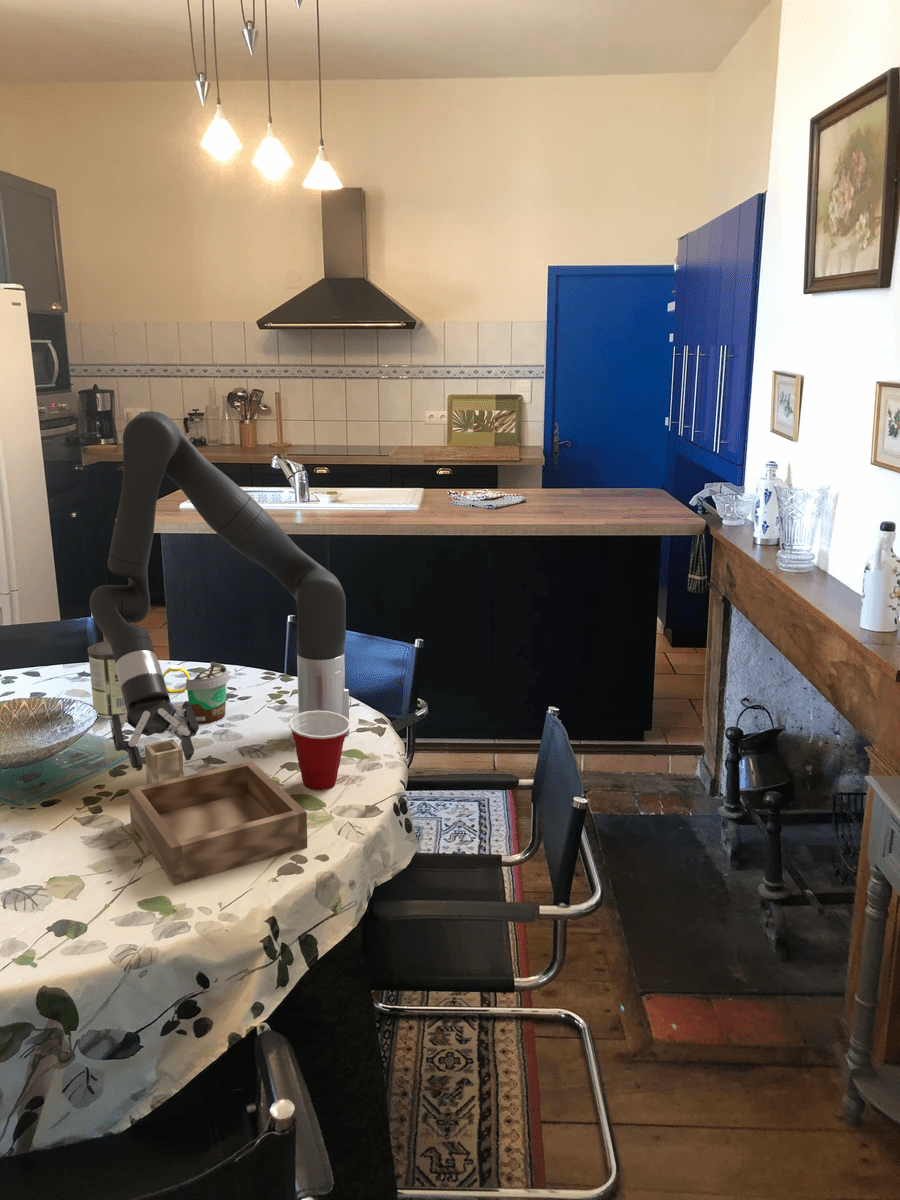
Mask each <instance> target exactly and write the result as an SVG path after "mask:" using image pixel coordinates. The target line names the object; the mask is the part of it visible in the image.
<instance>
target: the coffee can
mask: <svg viewBox="0 0 900 1200" xmlns="http://www.w3.org/2000/svg"><path fill="white" fill-rule="evenodd" d="M87 653H88V661H89V663H88V664H89V672H90V683H91V692H92V693H91V694H92V695H91V696H92V706H93V708H94V707H95V708H96V710H97V712H98V715H99V717H98V718H99V719H109V720H111V718H112V715H113V714H118V715H119V716H122V715H127V710H126V706H125V702H124V699H123V695H122V691H121V688H120V686H119V680H118V676H117V667H116V663H115V660H114V656H113V652H112V648H111V646H110V644H109V642H108V641H107V640H105V641H101V642H96V643H95V644H92V645H90V646H89V647H88V648H87Z"/></svg>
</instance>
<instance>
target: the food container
mask: <svg viewBox="0 0 900 1200" xmlns="http://www.w3.org/2000/svg"><path fill="white" fill-rule="evenodd" d="M230 679H231V678H230V674H229V670H228V669H227V667H226V666H225V665H224V664H221V663H218V662H212V661H211V662H210V667H208V668H207V669H206V670H204V671H201V672H199V673H198V674H197V675H196V676H195V677H194V678H193V679H190V680H189V679H187V678H186V681H185V686H186V690H185V691H187V701H189V702H190V704H191V707H192V710H193V712H194V715H195V718H196V720H197V723H198V725H206V723H207V724H211V723H212V722H213V723H216V722H219V721H221V720H223V719H224V718H225V717H224V716H226V704H227V703H226V702H227V683H228V682H229V681H230ZM223 717H224V718H223ZM222 718H223V719H222ZM220 719H221V720H220ZM218 720H219V721H218ZM215 721H216V722H215Z"/></svg>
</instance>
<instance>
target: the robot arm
mask: <svg viewBox="0 0 900 1200" xmlns="http://www.w3.org/2000/svg"><path fill="white" fill-rule="evenodd" d="M122 443H123V444H122V457H123V458H122V460H123V461H122V463H123V465H122V482H121V492H120V498H119V503H118V509H117V513H116V518H115V522H114V526H113V531H112V537H111V542H110V547H109V553H108V558H107V567H108V569H109V571H110V572H111V573H113V574H114V575H117V576H120V577H123V578H127V579H128V584H127V585H124V584H123V585H122V584H121V585H120V584H119V585H117V584H116V585H114V584H104V585H100V586H97V587H96V588H95V589H94V590H92V592H91V595H90V597H89V610H90V614H91V616H92V618H93V621H94V622H95V624H96V625H97V627H98V628H99V630H100V631H101V634H103V636H104V638H105V639H106V641H108V642H109V644H110V646H111V648H112V652H113V656H114V660H115V663H116V667H117V676H118V680H119V686H120V688H121V691H122V695H123V699H124V702H125V706H126V710H127V715H122V716H119V715H118V714H113V715H112V718H111V719H110V723H109V726H110V728H111V729H110V730H111V736H112V740H113V746H114V750H115V751H116V752H120V751H121V752H122V751H125V752H126V753H127V754H128V758H129V761H130V766H131V768H133V769H135V770H136V771H137V772H139V771H142V769H143V766H144V765H143V762H142V757H141V754H140V750H139V746H137V744H138V742H139V740H140V738H141V736H142V735H144V736H145V737H149V736H153V735H154V734H164V733H165V732H167V733H169V734H171V735H172V736H175V737H176V738H177V739H179V740H180V745H181V746H180V747H181V749H182V754H183V756H184V760H185V761H186V762H187V761H191V759H192V758H193V755H194V753H195V749H194V745H193V741H192V739H191V738H192V737H195V736H196V735H197V733H198V731H199V729H200V726H199V724H198V723H197V720H196V718H195V715H194V712H193V710H192V707H191V704H190V702H189V701H188V700H185V701H183V703H182V704H178V705H174V704H173V703H172V702H171V698H170V695H169V694H170V693H169V692H168V691H167V688H166V687H167V685H166V681H165V677H163V674H164V673H163V671H162V668H161V664H160V662H159V660H158V658H157V656H156V653H155V652H156V651H155V649H154V645H153V642H152V638H151V636H150V633H149V631H148V630H147V628H145V627H142V626H141V625H136V623H137V624H138V623H140V622H142V621H144V620H145V619H146V618H147V616H148V614H149V612H150V609H151V598H150V590H149V589H150V588H149V576H148V575H149V574H148V573H149V571H148V567H149V562H150V556H151V550H152V545H153V539H154V533H155V532H154V531H155V521H156V509H157V508H156V507H157V503H158V502H157V501H158V495H159V492H160V491H159V490H160V487H161V484H162V480H163V477H164V475H165V476H166V477H167V478H168V479H169V480H171V482H173V483H174V484H175V485H176V486H177V487H178V488H179V489H180V490H181V491H182V492H183V494H184V496H186V498H188V500H189V502H190V503H191V504H192V506H193V507H194V508H195V510H196V511H197V513H198V514H199V515H200V516H201V518H202V519H203V520H204V521H205V522H206V524H207V525H208V526H209V527H210V528H211V529H212V531H214V532H215V533H216V534H217V535H218V536H219V537H220V538H221V539H222V540H223V541H224V542H226V543H227V544H229V546H230V547H231V548H233V549H234V550H235V551H236V552H238V553H240V554H241V555H243V556H244V558H245V557H246V558H247V559H249V561H251V562H253V563H255V564H257V565H258V566H259V567H262V568H263V569H265V570H267V571H268V572H269V573H270V574H271V575H272V576H273V577H274V578H275V579H276V580H277V581H279V582H280V584H281V585H282V586H283V587H284V589H286V590H287V591H288V592H289V594H290V595H291V596H292V597H293V599H294V600H295V602H296V618H297V619H296V621H297V622H296V625H297V626H296V628H297V629H296V630H297V635H296V656H297V657H296V658H297V661H296V662H297V663H296V665H297V703H298V705H297V706H298V707H297V709H298V712H297V714H299V713H303V712H307V711H329V712H333V713H338V714H340V715H342V716H344V717H346V718H347V719H348V720H349V721H350V691H349V689H348V688H347V687H346V683H345V682H346V681H345V680H346V678H345V677H346V676H345V674H346V673H345V671H346V670H345V668H346V667H345V644H346V638H347V637H346V636H347V634H346V630H347V629H346V628H347V626H346V624H347V623H346V621H347V611H346V610H347V609H346V607H347V605H346V603H347V602H346V594H345V591H344V587H343V586H342V584H341V582H340V581H339V579H338V578H337V576H335V575H334V573H332V572H331V571H329V570H327V569H326V567H324V566H322V564H320V563H318V562H317V561H316V560H314V559H313V558H312V557H311V556H309V555H308V554H307V553H305V551H303V550H302V549H301V548H300V547H299V546H298V545H297V544H296V543H295V542H294V541H293V540H292V539H291V538H290V537H289V535H287V533H286V531H284V529H283V528H282V527H281V526H280V525H279V524H278V523H277V522H276V520H274V518H273V517H271V515H270V514H269V513H268V512H267V511H266V510H265V509H264V507H262V506H261V505H260V504H259V503H258V502H256V500H255V499H254V498H252V497H251V495H249V494H248V492H246V491H245V490H244V489H243V488H241V487H240V486H239V485H238V484H237V483H235V481H234V480H232V479H231V478H230V477H229V476H227V474H225V473H224V472H223V471H222V470H220V469H219V468H217V467H216V466H215V465H214V464H212V463H211V462H210V461H209V460H208V459H207V458H206V457H205V456H204V455H203V454H202V453H201V452H200V451H199V450H198V448H197V447H196V446H195V445H194V444H193V443H192V442H191V441H190V439H188V437H187V436H186V434H184V433H183V431H182V430H181V429H180V428H179V427H178V425H177V424H176V423H175V422H174V421H173V420H172V419H171V418H170V417H169V416H168V415H166V414H164V413H161V412H158V411H153V410H151V411H144V412H141V413H138V414H137V415H135V416H134V417H133V418H132V419H130V421H129V422H127V424H126V426H125V428H124V430H123V434H122ZM175 714H178V715H179V716H180V717H181V718H183V719H184V723H185V725H186V727H185V726H183V724H182V722H180V721H179V720H178V719H177V718H175V717H174V716H175ZM125 723H127V725H130V726H131V727H132V728H133V729H134V730H133V732H132V735H131V737H130V739H129V740H124V739H125V738H124V733H123V728H124V727H125ZM348 735H350V730H349V731H348V732H347V733H346V736H348Z"/></svg>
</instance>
